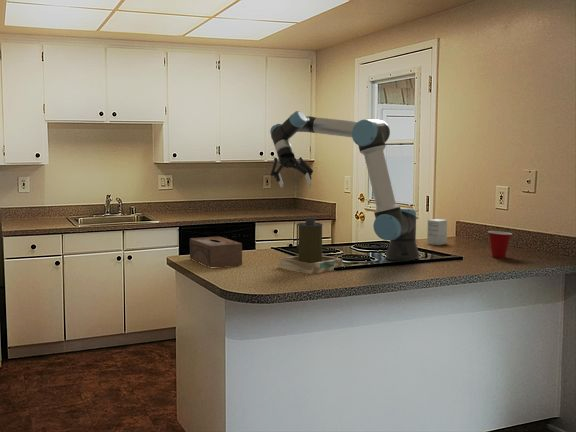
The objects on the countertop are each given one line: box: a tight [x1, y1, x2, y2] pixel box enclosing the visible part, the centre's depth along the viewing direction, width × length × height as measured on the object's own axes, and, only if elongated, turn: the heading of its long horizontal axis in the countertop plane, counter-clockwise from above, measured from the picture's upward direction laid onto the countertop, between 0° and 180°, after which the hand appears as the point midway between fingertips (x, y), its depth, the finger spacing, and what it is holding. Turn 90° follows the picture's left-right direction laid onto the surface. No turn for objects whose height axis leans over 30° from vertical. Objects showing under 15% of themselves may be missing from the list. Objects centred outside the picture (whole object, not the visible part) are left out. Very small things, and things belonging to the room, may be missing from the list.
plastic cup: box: [487, 230, 513, 259], centre depth 324 cm, size 11×11×12 cm
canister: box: [296, 216, 324, 263], centre depth 297 cm, size 11×10×20 cm
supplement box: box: [426, 218, 448, 246], centre depth 365 cm, size 7×7×13 cm
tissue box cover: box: [189, 235, 243, 268], centre depth 311 cm, size 26×14×10 cm, turn 28°
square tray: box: [277, 254, 345, 275], centre depth 298 cm, size 20×20×4 cm
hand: (296, 185), depth 316 cm, fingers open, 13 cm apart
